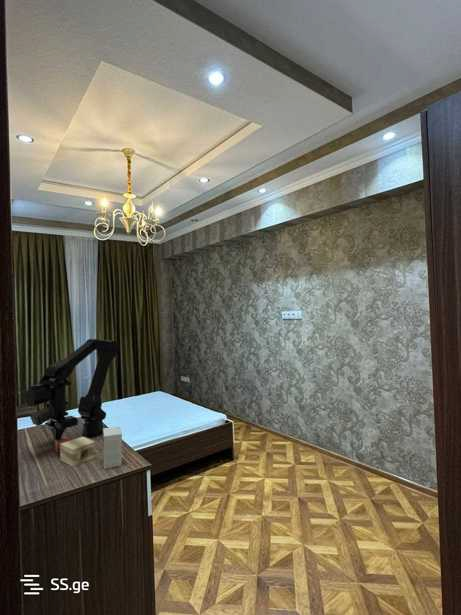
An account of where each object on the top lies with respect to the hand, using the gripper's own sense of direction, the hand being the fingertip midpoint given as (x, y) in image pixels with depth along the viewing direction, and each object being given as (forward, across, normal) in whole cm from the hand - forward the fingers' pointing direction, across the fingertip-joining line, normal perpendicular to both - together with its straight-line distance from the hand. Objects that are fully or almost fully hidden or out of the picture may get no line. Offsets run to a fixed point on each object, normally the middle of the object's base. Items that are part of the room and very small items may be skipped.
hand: (57, 442), depth 118 cm
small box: (+3, +26, +5) cm, 27 cm away
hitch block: (+2, +14, 0) cm, 15 cm away
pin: (+2, +8, 0) cm, 9 cm away
